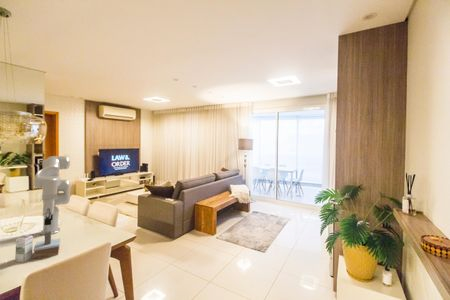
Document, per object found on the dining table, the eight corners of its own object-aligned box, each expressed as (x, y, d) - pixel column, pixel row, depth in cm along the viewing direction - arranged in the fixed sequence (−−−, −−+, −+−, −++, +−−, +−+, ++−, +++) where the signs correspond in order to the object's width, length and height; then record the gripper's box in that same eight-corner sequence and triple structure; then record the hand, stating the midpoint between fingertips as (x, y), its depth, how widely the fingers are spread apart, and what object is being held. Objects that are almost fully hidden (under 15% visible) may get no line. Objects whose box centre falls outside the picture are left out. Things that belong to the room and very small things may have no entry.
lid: (36, 245, 139) (36, 230, 139) (60, 241, 147) (60, 227, 147) (33, 252, 131) (34, 236, 131) (59, 247, 138) (59, 232, 138)
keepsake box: (36, 253, 139) (36, 244, 139) (59, 248, 146) (59, 240, 146) (33, 260, 131) (34, 250, 131) (58, 255, 138) (58, 246, 138)
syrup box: (32, 257, 134) (33, 235, 134) (24, 262, 128) (25, 239, 128) (23, 257, 134) (24, 234, 134) (14, 262, 128) (15, 239, 128)
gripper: (44, 194, 143) (42, 219, 143) (40, 200, 129) (38, 227, 129) (58, 193, 147) (56, 218, 147) (55, 199, 133) (54, 225, 133)
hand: (48, 222), depth 138 cm, fingers open, 9 cm apart
